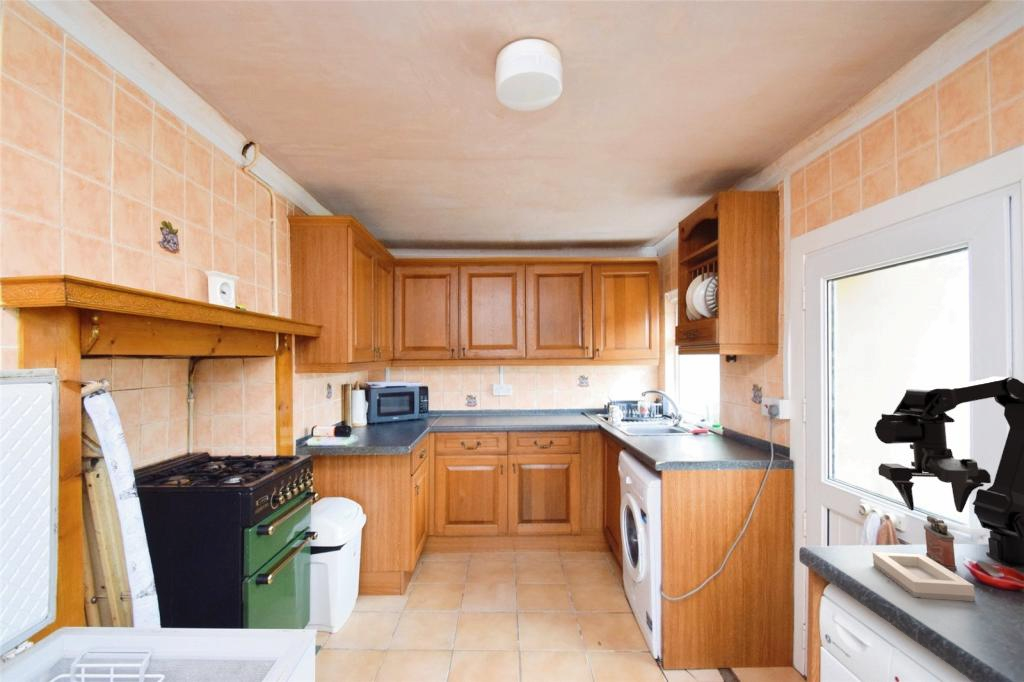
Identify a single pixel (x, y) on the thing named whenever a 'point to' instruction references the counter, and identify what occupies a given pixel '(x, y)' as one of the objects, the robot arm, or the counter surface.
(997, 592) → the counter surface
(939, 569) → the tray
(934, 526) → the lighter
